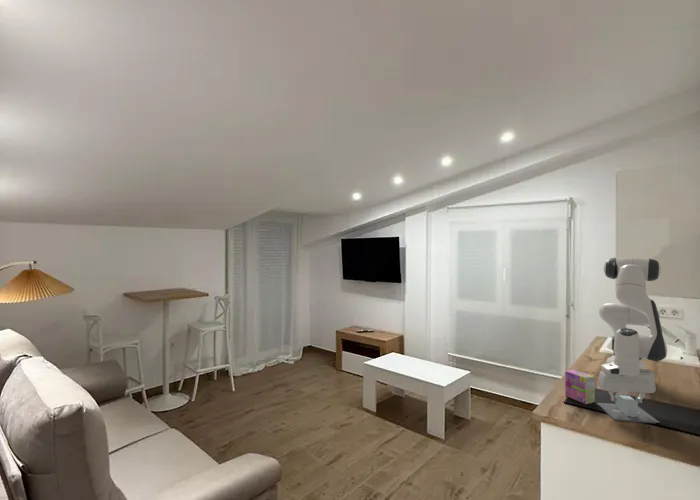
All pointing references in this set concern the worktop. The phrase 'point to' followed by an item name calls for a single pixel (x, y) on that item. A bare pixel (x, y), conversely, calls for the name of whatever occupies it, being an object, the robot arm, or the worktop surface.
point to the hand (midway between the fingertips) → (626, 401)
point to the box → (580, 386)
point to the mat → (620, 416)
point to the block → (626, 404)
